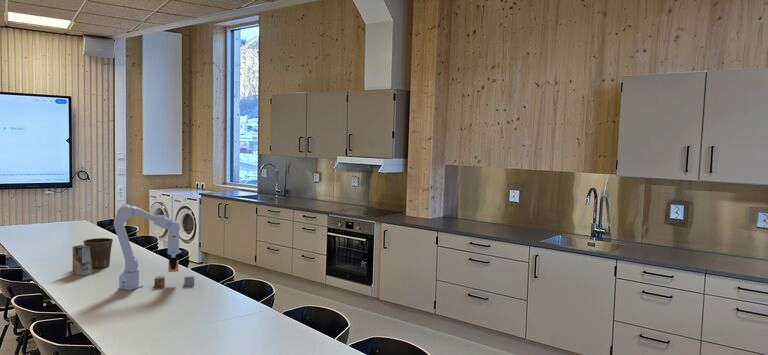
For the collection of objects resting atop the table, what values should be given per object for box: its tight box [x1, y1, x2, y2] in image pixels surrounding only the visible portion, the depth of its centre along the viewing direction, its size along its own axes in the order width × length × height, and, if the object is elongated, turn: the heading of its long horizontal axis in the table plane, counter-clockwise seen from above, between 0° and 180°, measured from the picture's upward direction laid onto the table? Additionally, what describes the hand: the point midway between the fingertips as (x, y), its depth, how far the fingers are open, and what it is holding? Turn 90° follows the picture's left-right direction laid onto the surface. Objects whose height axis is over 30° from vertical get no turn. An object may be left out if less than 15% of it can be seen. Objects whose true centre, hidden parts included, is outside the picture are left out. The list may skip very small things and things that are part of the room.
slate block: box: [183, 274, 195, 287], centre depth 302 cm, size 5×5×5 cm
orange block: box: [167, 260, 179, 273], centre depth 301 cm, size 5×5×5 cm
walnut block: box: [153, 275, 166, 289], centre depth 297 cm, size 5×5×5 cm
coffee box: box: [71, 244, 93, 277], centre depth 316 cm, size 9×6×16 cm
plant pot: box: [82, 237, 114, 269], centre depth 335 cm, size 16×16×16 cm
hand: (173, 268), depth 301 cm, fingers closed on orange block, 5 cm apart
